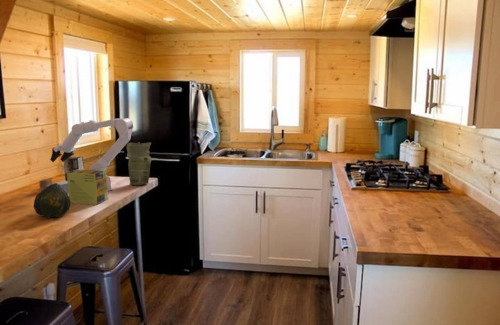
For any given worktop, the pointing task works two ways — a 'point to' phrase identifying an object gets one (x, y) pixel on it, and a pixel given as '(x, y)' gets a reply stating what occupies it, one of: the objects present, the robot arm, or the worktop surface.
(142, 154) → the pouch
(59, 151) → the robot arm
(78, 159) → the coffee box
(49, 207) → the squash
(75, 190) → the protein box
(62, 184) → the base block
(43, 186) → the walnut block
